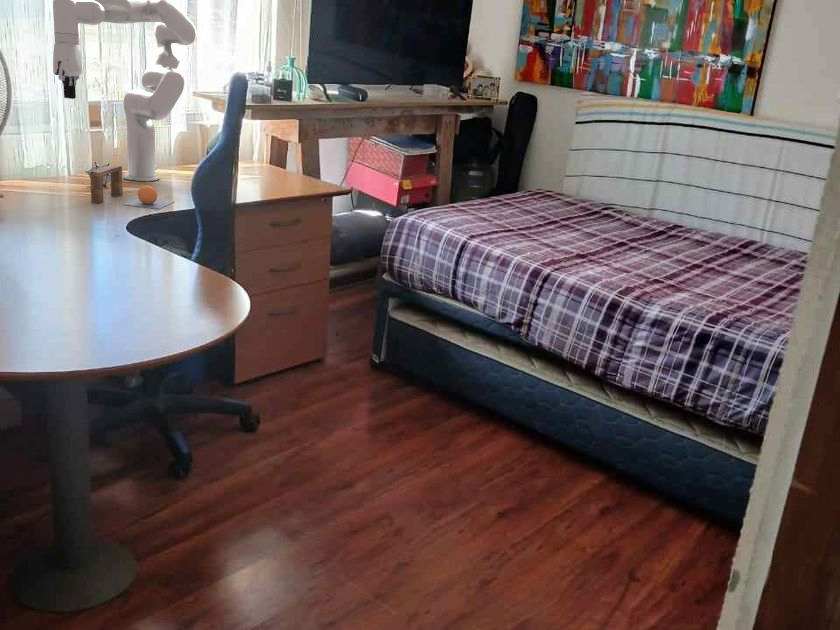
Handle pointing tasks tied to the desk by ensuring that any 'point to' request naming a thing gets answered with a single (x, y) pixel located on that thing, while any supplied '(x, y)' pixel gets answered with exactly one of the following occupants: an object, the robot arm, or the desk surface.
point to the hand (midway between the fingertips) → (69, 98)
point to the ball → (147, 194)
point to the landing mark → (156, 205)
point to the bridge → (97, 182)
